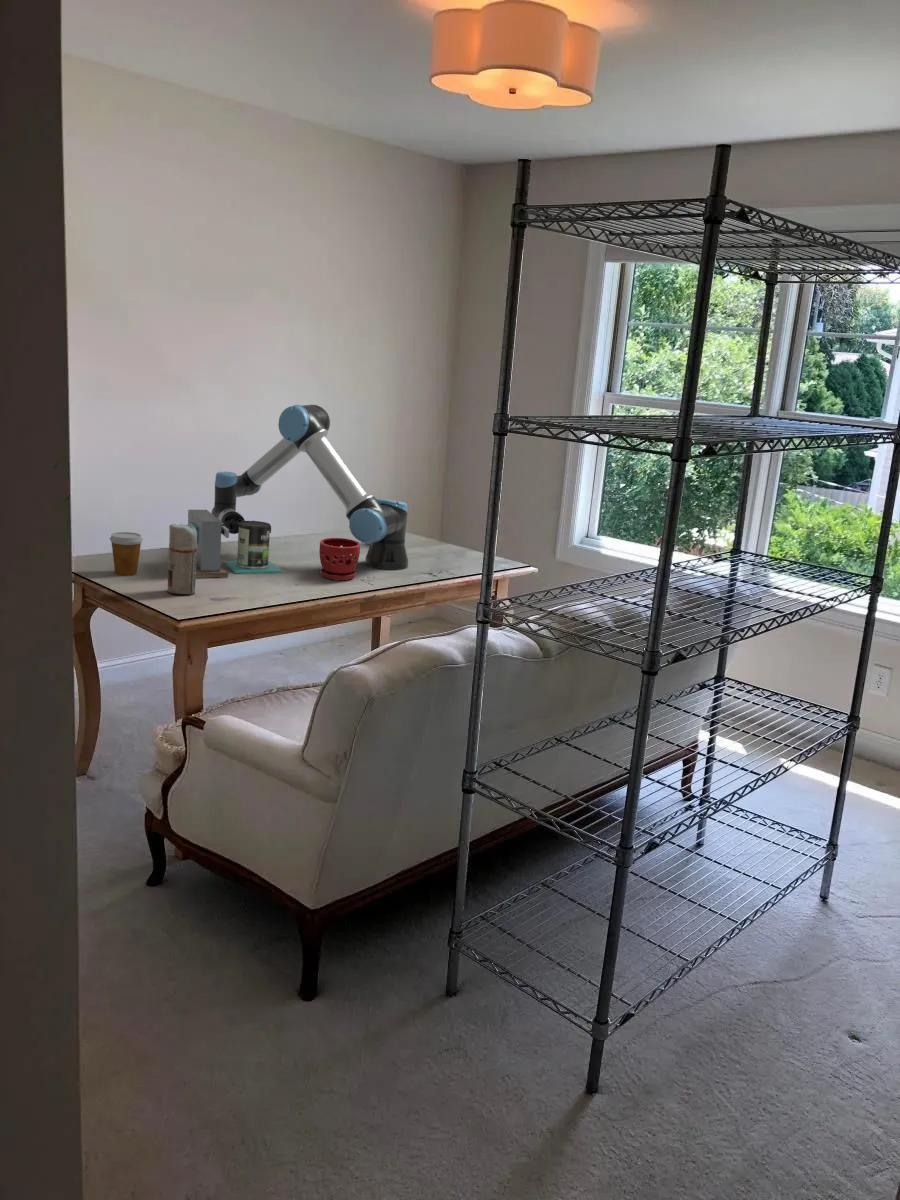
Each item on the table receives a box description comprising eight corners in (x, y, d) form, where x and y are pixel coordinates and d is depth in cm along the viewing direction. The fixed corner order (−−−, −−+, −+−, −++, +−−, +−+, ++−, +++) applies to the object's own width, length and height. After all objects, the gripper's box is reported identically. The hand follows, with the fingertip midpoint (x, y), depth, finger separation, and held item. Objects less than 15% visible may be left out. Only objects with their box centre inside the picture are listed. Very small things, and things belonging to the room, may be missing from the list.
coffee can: (273, 564, 329) (275, 523, 325) (261, 570, 319) (263, 527, 315) (244, 560, 330) (245, 519, 327) (231, 566, 320) (233, 523, 317)
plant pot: (310, 574, 324) (312, 538, 321) (344, 571, 332) (347, 536, 329) (330, 583, 314) (333, 546, 311) (365, 580, 322) (368, 545, 319)
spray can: (169, 587, 291) (171, 521, 286) (197, 589, 292) (199, 523, 287) (163, 595, 283) (165, 526, 278) (193, 597, 284) (195, 528, 279)
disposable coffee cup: (148, 572, 306) (149, 534, 303) (129, 578, 297) (129, 539, 294) (122, 568, 309) (123, 530, 306) (102, 573, 300) (103, 534, 297)
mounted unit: (227, 577, 309) (229, 522, 305) (195, 578, 305) (197, 522, 300) (209, 560, 330) (211, 508, 325) (179, 560, 325) (180, 508, 321)
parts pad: (280, 573, 321) (281, 570, 321) (235, 574, 315) (235, 571, 315) (267, 562, 334) (268, 560, 334) (223, 563, 328) (223, 560, 327)
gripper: (266, 531, 351) (284, 544, 333) (195, 531, 340) (210, 545, 321) (267, 511, 349) (285, 522, 331) (196, 510, 338) (210, 522, 320)
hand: (248, 533), depth 326 cm, fingers open, 13 cm apart
